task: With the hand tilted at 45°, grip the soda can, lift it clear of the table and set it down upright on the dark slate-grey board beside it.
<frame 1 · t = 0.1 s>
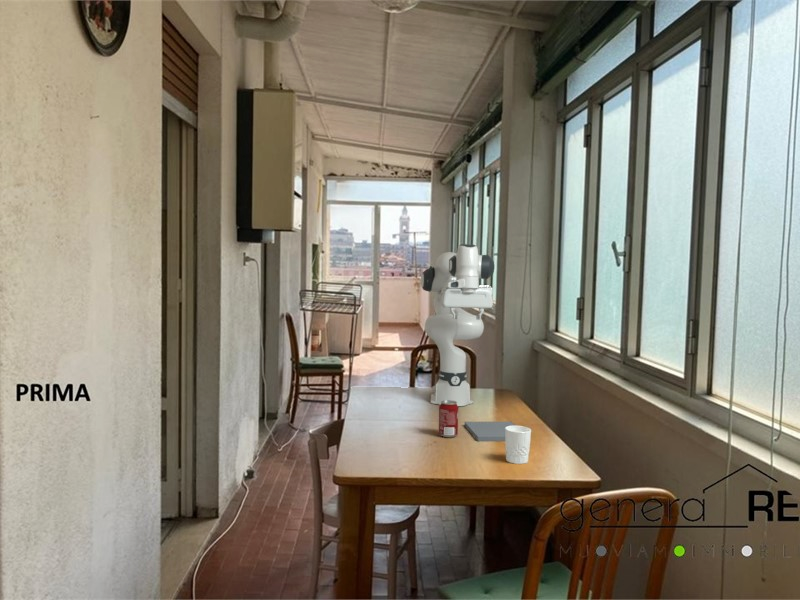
hand: (466, 319, 240), 39 cm above the table, tool pointing down, fingers open, 8 cm apart
slate board: (495, 432, 219), on the table
soda can: (447, 436, 214), on the table
white cup: (516, 461, 188), on the table
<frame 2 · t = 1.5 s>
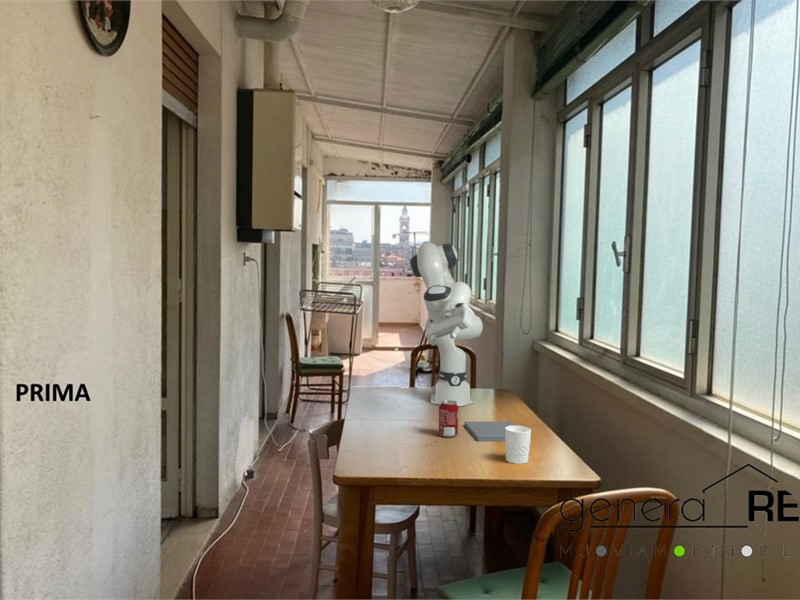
hand: (442, 340, 221), 32 cm above the table, tool tilted 50°, fingers open, 8 cm apart
nothing on the table moved.
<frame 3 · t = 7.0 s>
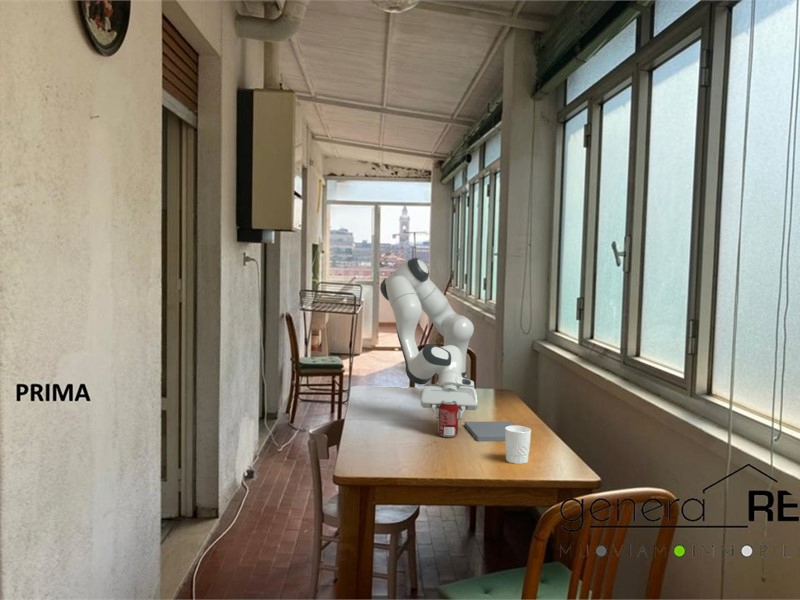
hand: (448, 418, 213), 6 cm above the table, tool tilted 45°, fingers closed on soda can, 7 cm apart
soda can: (447, 436, 214), on the table, touching gripper
everything else where it was.
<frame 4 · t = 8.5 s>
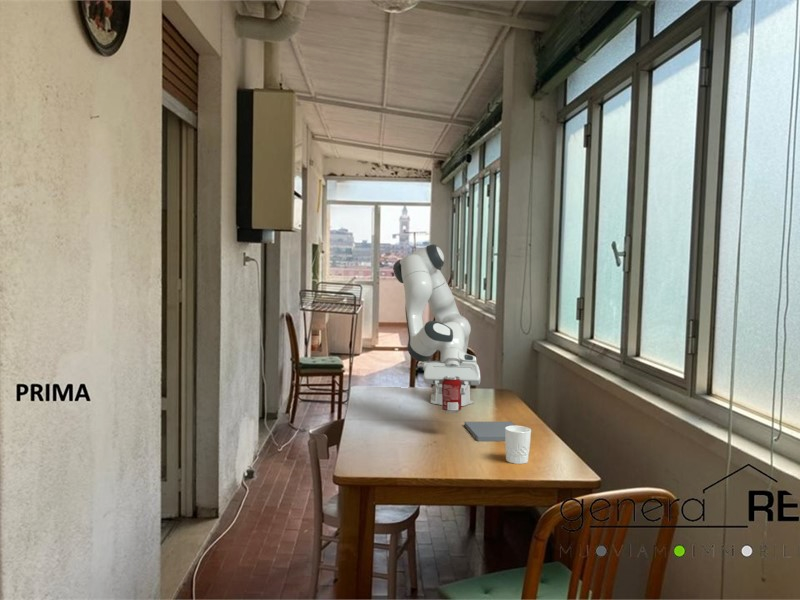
hand: (451, 393, 213), 15 cm above the table, tool tilted 45°, fingers closed on soda can, 7 cm apart
soda can: (451, 411, 214), point 9 cm above the table, touching gripper
everything else where it was.
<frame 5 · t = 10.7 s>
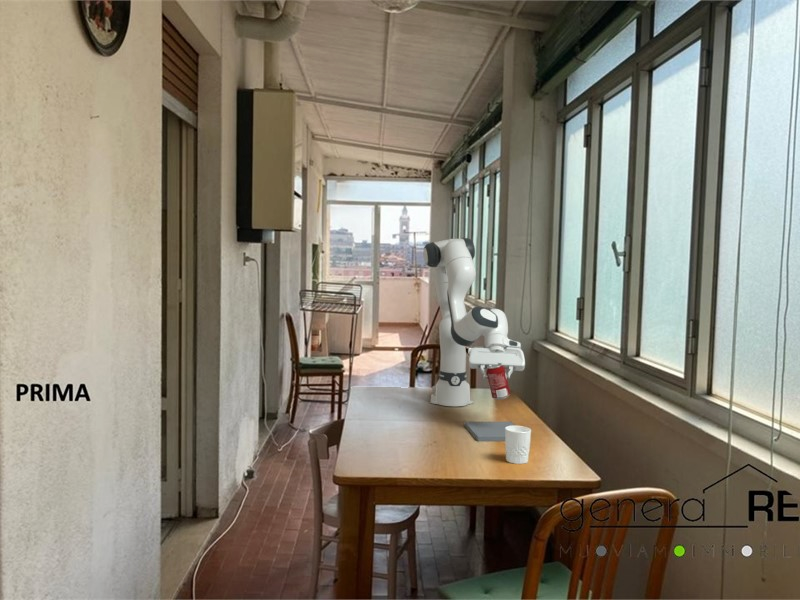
hand: (496, 378, 216), 20 cm above the table, tool tilted 45°, fingers closed on soda can, 6 cm apart
soda can: (501, 397, 218), point 13 cm above the table, touching gripper
everything else where it was.
when the fingers open (9 cm above the table, at t = 13.9 s): soda can stays where it is, resting on slate board.
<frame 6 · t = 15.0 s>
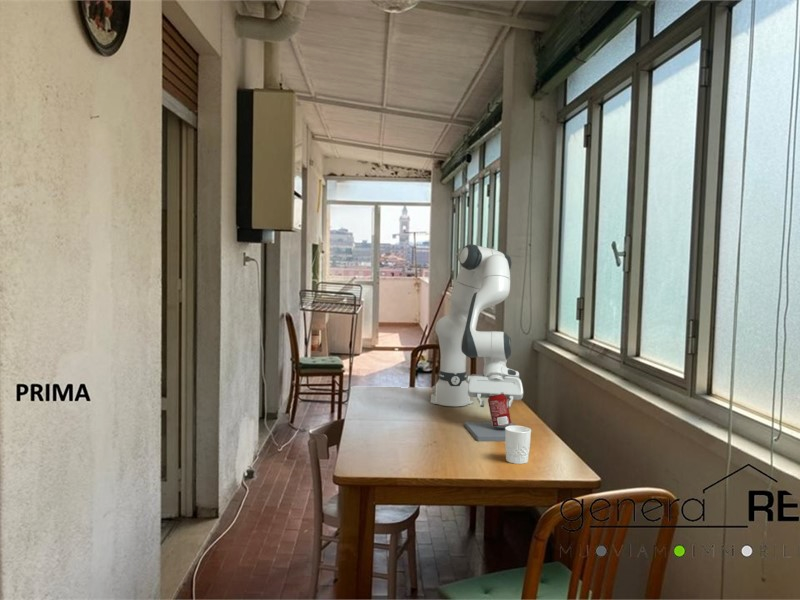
hand: (495, 407, 220), 9 cm above the table, tool tilted 45°, fingers open, 8 cm apart
soda can: (502, 427, 219), point 2 cm above the table, touching gripper, slate board
everything else where it was.
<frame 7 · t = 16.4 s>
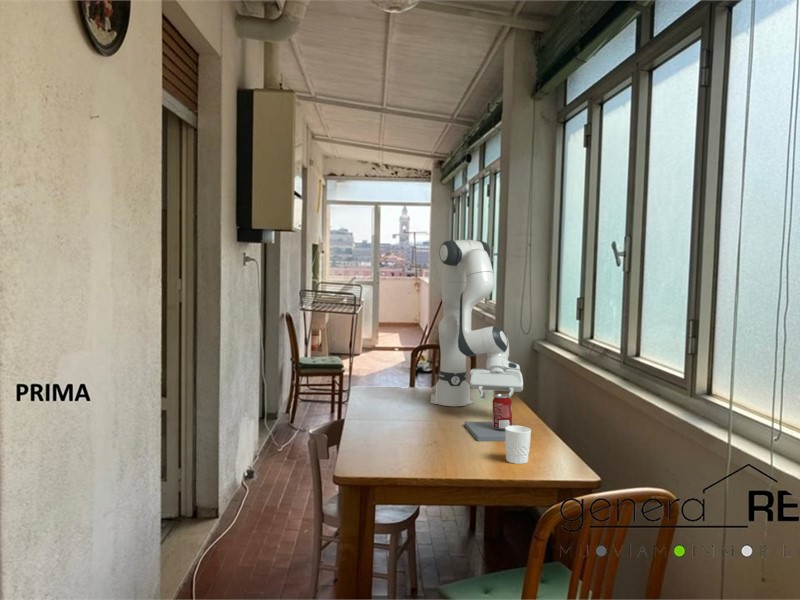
hand: (495, 398, 229), 10 cm above the table, tool tilted 45°, fingers open, 8 cm apart
soda can: (502, 429, 219), point 1 cm above the table, touching slate board
everything else where it was.
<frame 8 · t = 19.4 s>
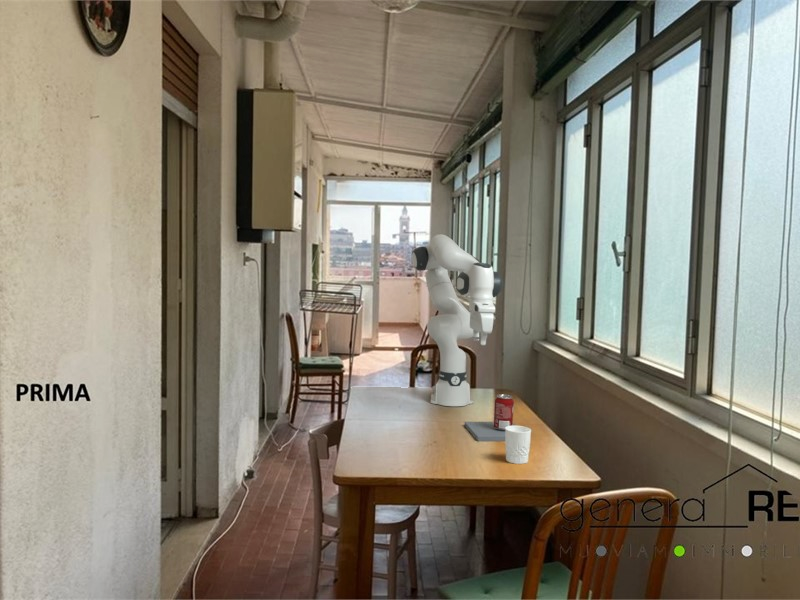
hand: (479, 343, 228), 31 cm above the table, tool pointing down, fingers open, 8 cm apart
at the end: soda can inside the target area on the slate board (2.1 cm from its centre), point 1.4 cm above the slate board's base; soda can tilted 1°; the gripper is holding nothing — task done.
